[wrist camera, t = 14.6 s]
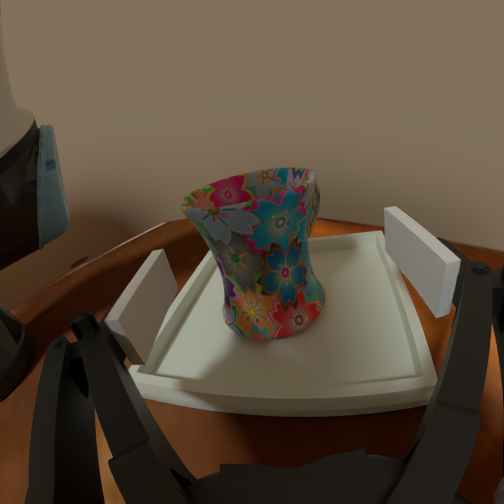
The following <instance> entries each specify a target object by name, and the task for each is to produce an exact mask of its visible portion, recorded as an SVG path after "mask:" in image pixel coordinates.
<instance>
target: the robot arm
mask: <svg viewBox="0 0 504 504" xmlns="http://www.w3.org/2000/svg"><path fill="white" fill-rule="evenodd" d="M0 9H1V8H0ZM384 217H385V251H386V252H387V254H388V255H389V256H390V257H391V259H392V260H393V261H394V262H395V263H396V265H397V266H398V267H399V269H400V270H401V271H402V272H403V274H404V275H405V276H406V278H407V279H408V280H409V281H410V283H411V284H412V285H413V287H414V288H415V289H416V291H417V292H418V294H419V295H420V296H421V298H422V299H423V300H424V302H425V303H426V305H427V306H428V307H429V309H430V310H431V312H432V313H433V315H434V316H435V317H436V318H439V317H442V316H445V315H448V314H450V310H451V306H452V303H453V304H454V306H455V307H456V308H457V309H456V312H455V316H454V320H453V323H452V326H451V328H452V330H451V334H450V338H449V342H448V346H447V350H446V353H445V357H444V360H443V364H442V367H441V370H440V373H439V376H438V379H437V382H436V385H435V388H434V391H433V393H432V396H431V399H430V401H429V404H428V406H427V409H426V411H425V414H424V416H423V418H422V421H421V423H420V425H419V428H418V430H417V432H416V434H415V436H414V438H413V440H412V442H411V444H410V446H409V448H408V449H407V451H406V453H405V455H404V456H403V458H402V460H401V461H399V460H397V459H394V458H391V457H387V456H382V455H367V452H366V448H361V449H357V450H353V451H348V452H343V453H338V454H333V455H329V456H327V457H324V458H322V459H319V460H317V461H314V462H311V463H308V464H306V465H303V466H300V467H297V468H293V469H288V468H280V467H273V466H266V465H260V464H220V472H216V473H213V474H209V475H207V476H204V477H202V478H200V479H198V480H197V479H196V478H195V477H194V476H193V475H192V474H191V473H190V472H189V471H188V469H187V468H186V467H185V465H184V464H183V462H182V461H181V460H180V458H179V457H178V455H177V454H176V452H175V451H174V449H173V448H172V446H171V445H170V443H169V442H168V440H167V439H166V437H165V436H164V434H163V432H162V431H161V429H160V427H159V426H158V424H157V422H156V421H155V419H154V417H153V416H152V414H151V412H150V410H149V409H148V407H147V405H146V403H145V401H144V400H143V398H142V396H141V394H140V392H139V390H138V388H137V386H136V384H135V382H134V380H133V378H132V376H131V374H130V372H129V370H128V368H127V367H126V365H125V364H124V360H125V358H126V357H127V358H128V360H129V361H130V363H131V364H132V365H146V362H147V360H148V357H149V355H150V352H151V350H152V347H153V345H154V342H155V340H156V337H157V335H158V333H159V330H160V328H161V325H162V323H163V321H164V318H165V316H166V314H167V311H168V309H169V307H170V305H171V302H172V300H173V298H174V295H175V293H176V291H177V289H178V285H177V283H176V280H175V278H174V275H173V273H172V270H171V267H170V265H169V262H168V260H167V257H166V254H165V251H164V249H160V250H155V251H152V252H151V254H150V255H149V256H148V258H147V259H146V261H145V262H144V263H143V265H142V266H141V267H140V269H139V270H138V272H137V273H136V274H135V276H134V277H133V279H132V280H131V282H130V283H129V284H128V286H127V287H126V289H125V290H124V292H123V293H122V294H121V295H120V296H119V297H118V298H117V299H115V300H114V302H113V303H112V305H111V306H110V308H109V309H108V311H107V313H106V314H105V315H104V317H103V318H102V320H101V321H100V323H99V324H98V322H97V320H96V318H95V317H94V315H93V313H92V312H89V311H88V312H83V313H81V314H79V315H78V316H76V317H75V318H74V319H73V320H72V321H71V323H70V326H69V327H70V328H71V330H72V332H73V333H74V335H75V336H76V338H77V339H78V341H77V342H73V343H70V342H69V341H68V339H67V338H66V337H65V336H61V337H58V338H55V339H54V340H52V341H51V343H50V344H49V346H48V348H47V352H46V356H45V359H44V363H43V368H42V372H41V376H40V381H39V386H38V391H37V396H36V402H35V408H34V415H33V422H32V431H31V441H30V454H29V486H28V490H27V494H26V499H25V503H24V504H105V502H104V496H103V490H102V484H101V478H100V470H99V463H98V454H97V443H96V429H95V409H96V412H97V415H98V418H99V421H100V424H101V427H102V430H103V432H104V435H105V438H106V440H107V443H108V446H109V448H110V451H111V453H112V456H113V458H112V459H110V460H109V461H108V464H109V468H110V470H111V473H112V475H113V477H114V479H115V482H116V484H117V486H118V488H119V490H120V492H121V494H122V496H123V498H124V500H125V502H126V504H476V503H474V502H472V501H470V500H468V499H466V498H464V497H462V496H460V495H458V494H456V491H457V489H458V487H459V484H460V482H461V480H462V477H463V475H464V472H465V470H466V467H467V465H468V462H469V459H470V457H471V454H472V451H473V448H474V445H475V442H476V439H477V435H478V432H479V428H480V425H481V419H482V416H481V414H478V411H479V406H480V402H481V397H482V392H483V388H484V382H485V377H486V371H487V364H488V357H489V349H490V339H491V327H492V324H493V329H494V333H495V338H496V344H497V350H498V356H499V363H500V370H501V379H502V390H503V407H504V264H503V268H502V270H494V271H492V270H491V268H490V267H489V265H487V264H486V263H484V262H480V261H470V260H468V259H467V258H466V257H465V256H464V255H463V254H462V253H461V252H459V251H457V249H456V248H455V247H453V246H452V245H451V244H450V243H449V242H448V241H446V240H444V239H441V238H435V237H434V236H433V235H432V234H430V233H429V232H428V231H427V230H426V229H424V228H423V227H422V226H421V225H419V224H418V223H416V221H414V220H413V219H412V218H410V217H409V216H408V215H407V214H405V213H404V212H402V211H401V210H400V209H399V208H397V207H396V206H394V207H388V208H384ZM69 219H70V217H69V211H68V205H67V200H66V195H65V190H64V185H63V180H62V174H61V169H60V164H59V158H58V152H57V147H56V140H55V135H54V129H53V127H52V126H51V125H42V126H40V128H39V129H38V127H37V125H36V121H35V118H34V114H33V112H32V111H30V110H27V109H25V108H22V107H19V106H17V105H16V104H15V103H14V99H13V95H12V91H11V87H10V82H9V77H8V72H7V67H6V60H5V54H4V46H3V38H2V27H1V10H0V271H1V270H2V269H4V268H5V267H8V266H9V265H11V264H13V263H15V262H16V261H18V260H20V259H22V258H24V257H25V256H27V255H29V254H31V253H33V252H35V251H37V250H39V249H40V250H41V249H42V248H43V247H44V245H46V244H48V243H49V242H51V241H53V240H55V239H56V238H58V237H60V236H61V235H63V234H64V233H65V231H66V230H67V228H68V226H69V221H70V220H69ZM34 347H35V343H34V339H33V337H32V336H31V334H30V333H29V331H28V330H27V328H26V327H25V325H24V324H23V323H22V322H21V321H20V320H18V319H17V318H16V317H15V316H14V315H13V314H12V313H11V312H10V311H9V310H8V309H7V308H5V307H4V306H3V305H2V304H1V303H0V400H2V399H3V398H4V397H5V396H6V395H7V394H8V393H9V392H10V391H11V390H12V389H13V388H14V387H15V385H16V384H17V383H18V382H19V380H20V379H21V377H22V376H23V374H24V373H25V371H26V369H27V368H28V366H29V364H30V361H31V359H32V356H33V353H34ZM493 500H494V502H495V504H504V441H503V478H502V480H501V481H500V483H499V486H498V489H497V490H496V491H495V493H494V496H493Z"/></svg>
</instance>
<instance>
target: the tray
mask: <svg viewBox="0 0 504 504" xmlns="http://www.w3.org/2000/svg"><path fill="white" fill-rule="evenodd" d="M308 250H309V257H310V262H311V265H312V269H313V272H314V274H315V276H316V278H317V280H318V281H319V282H320V284H321V285H322V287H323V288H324V291H325V295H326V300H325V305H324V308H323V310H322V312H321V314H320V315H319V316H318V317H317V319H316V320H315V321H314V322H313V323H311V324H310V325H309V326H307V327H306V328H304V329H303V330H301V331H299V332H297V333H295V334H292V335H290V336H286V337H283V338H278V339H270V340H258V339H251V338H247V337H244V336H242V335H239V334H237V333H235V332H234V331H232V330H231V329H230V328H229V327H228V326H227V324H226V323H225V321H224V319H223V315H222V308H223V304H224V286H223V281H222V277H221V273H220V270H219V267H218V265H217V262H216V260H215V258H214V256H213V254H212V252H211V250H209V252H208V253H207V254H206V256H205V257H204V259H203V260H202V262H201V263H200V264H199V266H198V267H197V269H196V270H195V271H194V273H193V274H192V276H191V277H190V279H189V280H188V282H187V283H186V284H185V286H184V287H183V289H182V290H181V292H180V293H179V295H178V296H177V297H176V299H175V300H174V302H173V303H172V305H171V306H170V308H169V309H168V311H167V314H166V316H165V318H164V321H163V323H162V325H161V328H160V330H159V333H158V335H157V337H156V340H155V342H154V345H153V347H152V350H151V352H150V355H149V357H148V360H147V362H146V365H131V367H130V369H129V372H130V374H131V376H132V378H133V380H134V382H135V384H136V386H137V388H138V390H139V392H140V394H141V396H142V398H146V399H151V400H155V401H160V402H164V403H169V404H174V405H180V406H185V407H191V408H197V409H204V410H211V411H219V412H227V413H236V414H247V415H261V416H283V417H324V416H345V415H359V414H369V413H379V412H387V411H394V410H401V409H407V408H413V407H418V406H424V405H428V404H429V401H430V399H431V396H432V393H433V391H434V388H435V385H436V382H437V375H436V371H435V368H434V364H433V361H432V357H431V354H430V351H429V347H428V344H427V341H426V338H425V335H424V332H423V329H422V326H421V323H420V320H419V318H418V315H417V312H416V309H415V307H414V304H413V301H412V299H411V296H410V294H409V291H408V289H407V286H406V284H405V281H404V279H403V277H402V274H401V272H400V270H399V267H398V266H397V265H396V263H395V262H394V261H393V260H392V259H391V257H390V256H389V255H388V254H387V252H386V251H385V237H384V235H383V233H382V231H373V232H363V233H352V234H342V235H332V236H322V237H312V238H308Z"/></svg>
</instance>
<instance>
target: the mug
mask: <svg viewBox="0 0 504 504" xmlns="http://www.w3.org/2000/svg"><path fill="white" fill-rule="evenodd" d="M316 181H317V176H316V174H315V173H314V172H313V171H311V170H309V169H304V168H275V169H267V170H260V171H255V172H250V173H245V174H241V175H237V176H233V177H230V178H226V179H223V180H220V181H217V182H214V183H211V184H209V185H206V186H204V187H202V188H200V189H198V190H196V191H194V192H192V193H191V194H189V195H188V196H186V197H185V198H184V199H183V200H182V201H181V203H180V209H181V211H182V212H183V213H184V214H185V216H186V217H187V218H188V219H189V220H190V221H191V222H192V224H193V225H194V226H195V227H196V229H197V230H198V231H199V233H200V234H201V235H202V237H203V238H204V240H205V241H206V243H207V245H208V247H209V248H210V250H211V252H212V254H213V256H214V258H215V260H216V262H217V265H218V267H219V270H220V273H221V277H222V281H223V286H224V304H223V308H222V315H223V319H224V321H225V323H226V324H227V326H228V327H229V328H230V329H231V330H232V331H234V332H235V333H237V334H239V335H242V336H244V337H247V338H251V339H258V340H270V339H278V338H283V337H286V336H290V335H292V334H295V333H297V332H299V331H301V330H303V329H304V328H306V327H307V326H309V325H310V324H311V323H313V322H314V321H315V320H316V319H317V317H318V316H319V315H320V314H321V312H322V310H323V308H324V305H325V300H326V295H325V291H324V288H323V287H322V285H321V284H320V282H319V281H318V280H317V278H316V276H315V274H314V272H313V269H312V265H311V262H310V257H309V250H308V238H309V236H310V234H311V232H312V230H313V227H314V224H315V222H316V218H317V214H318V210H319V202H320V193H319V188H318V186H317V184H316ZM311 201H312V206H311ZM310 206H311V212H310ZM309 212H310V215H309Z"/></svg>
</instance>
